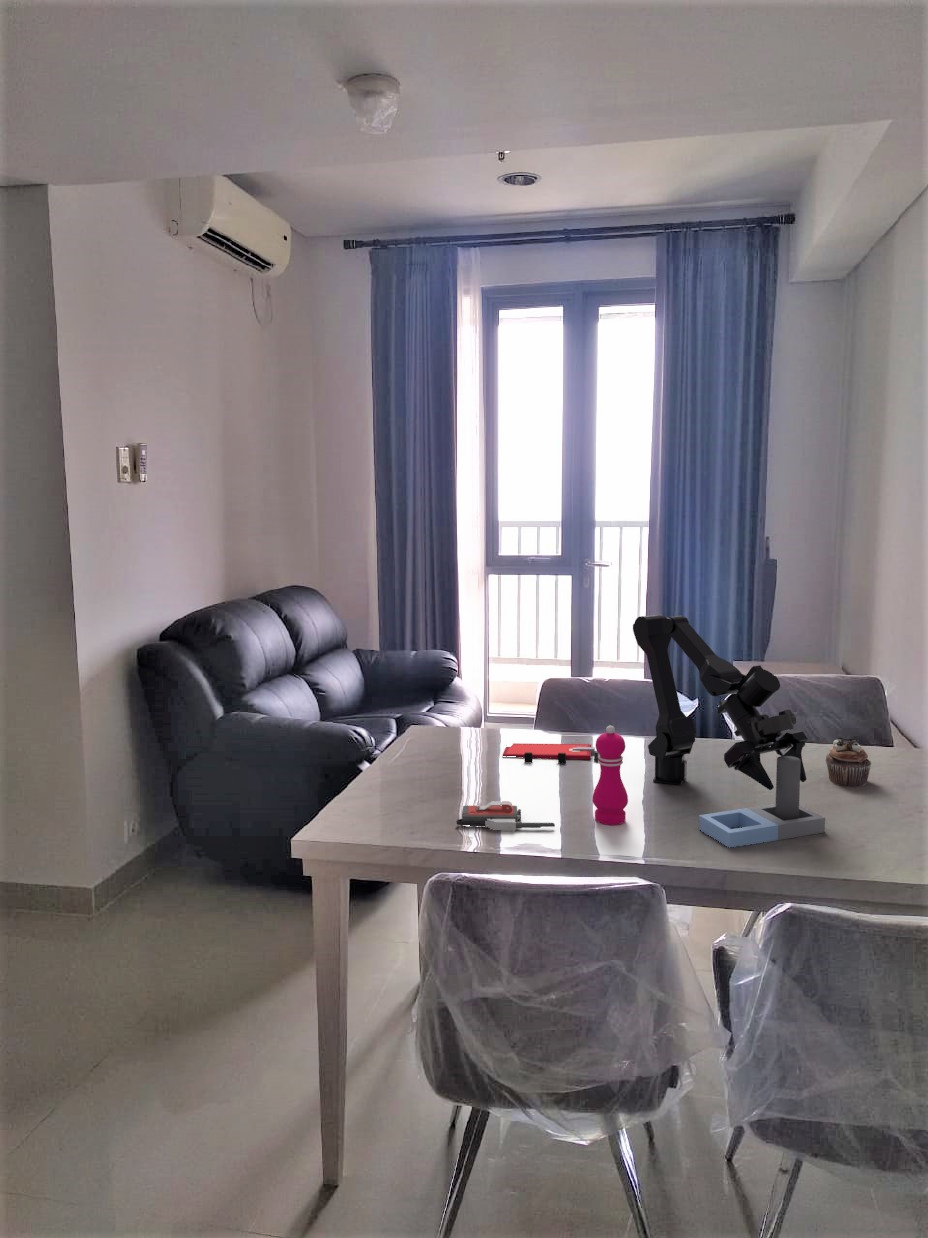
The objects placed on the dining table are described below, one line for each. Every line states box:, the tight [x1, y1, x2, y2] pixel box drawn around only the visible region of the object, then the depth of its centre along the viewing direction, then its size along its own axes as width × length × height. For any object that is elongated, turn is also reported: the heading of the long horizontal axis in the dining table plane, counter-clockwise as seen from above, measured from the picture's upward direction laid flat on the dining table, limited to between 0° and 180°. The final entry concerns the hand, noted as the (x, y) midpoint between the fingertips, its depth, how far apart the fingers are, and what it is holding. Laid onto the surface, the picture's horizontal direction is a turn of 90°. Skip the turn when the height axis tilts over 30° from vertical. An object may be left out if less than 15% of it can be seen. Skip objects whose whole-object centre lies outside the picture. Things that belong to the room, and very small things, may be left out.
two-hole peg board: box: [698, 803, 826, 849], centre depth 172 cm, size 22×10×3 cm, turn 108°
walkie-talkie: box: [455, 800, 556, 832], centre depth 178 cm, size 9×4×20 cm
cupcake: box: [825, 737, 872, 788], centre depth 200 cm, size 10×10×10 cm
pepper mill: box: [592, 725, 629, 826], centre depth 178 cm, size 7×7×20 cm
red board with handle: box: [502, 742, 600, 765], centre depth 226 cm, size 30×3×15 cm
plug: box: [775, 755, 801, 821], centre depth 173 cm, size 4×4×14 cm
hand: (788, 785), depth 172 cm, fingers open, 9 cm apart
